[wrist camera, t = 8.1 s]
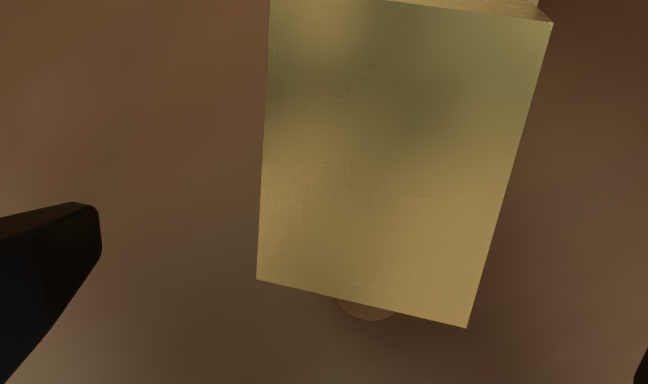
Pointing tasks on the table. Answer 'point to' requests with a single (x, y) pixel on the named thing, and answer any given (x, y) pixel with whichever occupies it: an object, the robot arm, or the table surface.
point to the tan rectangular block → (392, 145)
